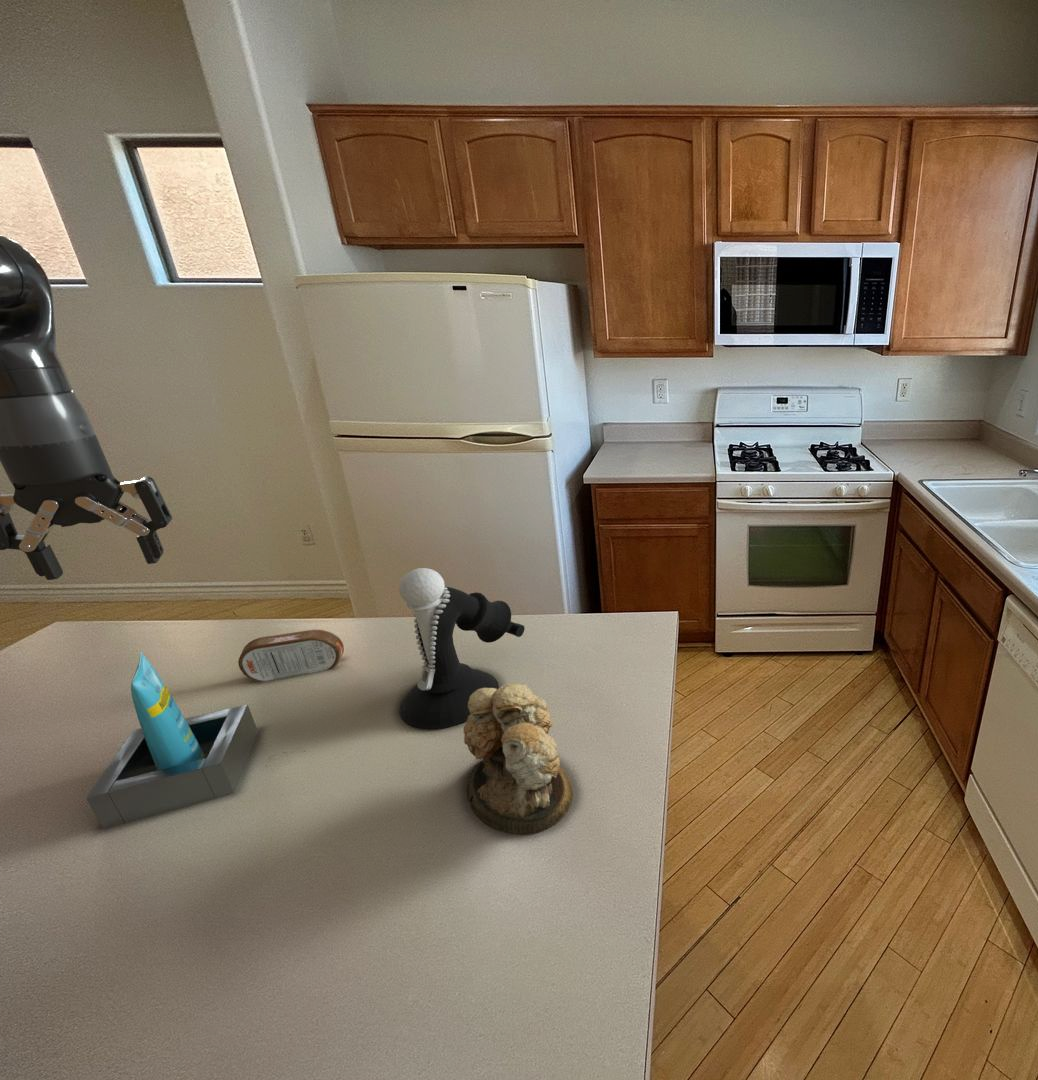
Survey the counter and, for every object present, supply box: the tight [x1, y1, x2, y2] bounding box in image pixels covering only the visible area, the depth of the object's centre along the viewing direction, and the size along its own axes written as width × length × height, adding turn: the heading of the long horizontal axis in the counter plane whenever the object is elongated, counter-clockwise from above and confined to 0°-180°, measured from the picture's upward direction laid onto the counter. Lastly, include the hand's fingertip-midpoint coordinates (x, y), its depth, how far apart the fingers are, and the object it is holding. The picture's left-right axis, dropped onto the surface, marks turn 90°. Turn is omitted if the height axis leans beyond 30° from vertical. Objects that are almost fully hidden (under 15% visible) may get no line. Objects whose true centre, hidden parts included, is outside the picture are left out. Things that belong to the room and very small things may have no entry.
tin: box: [237, 629, 345, 683], centre depth 97 cm, size 15×3×8 cm, turn 111°
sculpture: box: [398, 567, 526, 731], centre depth 92 cm, size 15×24×25 cm, turn 151°
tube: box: [130, 651, 207, 771], centre depth 73 cm, size 7×5×19 cm, turn 43°
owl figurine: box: [463, 683, 574, 835], centre depth 73 cm, size 18×12×17 cm, turn 55°
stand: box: [85, 704, 259, 830], centre depth 76 cm, size 13×13×6 cm
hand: (106, 569), depth 67 cm, fingers open, 8 cm apart
